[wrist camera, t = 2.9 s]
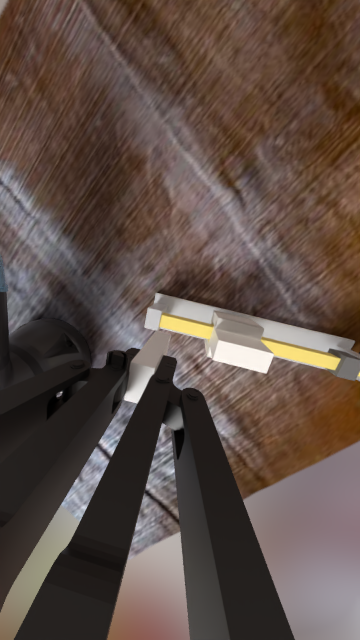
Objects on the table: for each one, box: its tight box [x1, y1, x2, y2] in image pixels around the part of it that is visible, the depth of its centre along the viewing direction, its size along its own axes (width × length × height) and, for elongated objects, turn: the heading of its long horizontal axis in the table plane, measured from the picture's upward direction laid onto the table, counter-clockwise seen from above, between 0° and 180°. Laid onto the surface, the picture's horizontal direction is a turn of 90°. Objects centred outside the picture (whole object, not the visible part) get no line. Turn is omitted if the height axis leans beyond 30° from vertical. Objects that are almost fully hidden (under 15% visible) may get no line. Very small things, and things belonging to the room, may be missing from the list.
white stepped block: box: [205, 310, 274, 373], centre depth 23 cm, size 6×6×10 cm
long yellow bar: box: [159, 313, 360, 381], centre depth 25 cm, size 32×3×3 cm, turn 78°
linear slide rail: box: [144, 293, 360, 381], centre depth 27 cm, size 34×6×7 cm, turn 78°
